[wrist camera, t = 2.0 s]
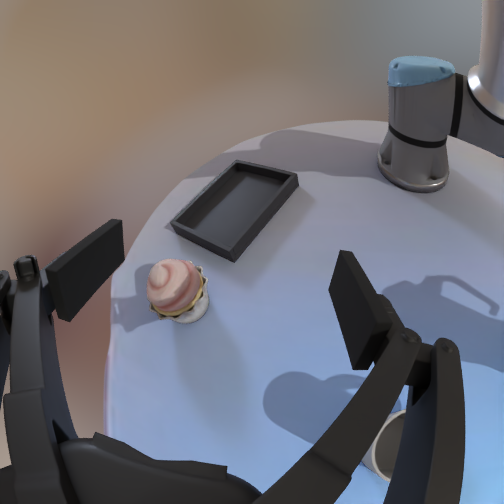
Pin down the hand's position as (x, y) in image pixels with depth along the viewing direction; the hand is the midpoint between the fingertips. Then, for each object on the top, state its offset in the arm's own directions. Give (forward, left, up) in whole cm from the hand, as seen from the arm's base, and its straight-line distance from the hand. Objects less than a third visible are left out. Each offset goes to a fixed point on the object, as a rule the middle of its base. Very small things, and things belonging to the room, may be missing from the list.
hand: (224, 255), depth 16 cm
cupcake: (+1, -15, -21) cm, 26 cm away
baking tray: (-18, -21, -21) cm, 35 cm away
